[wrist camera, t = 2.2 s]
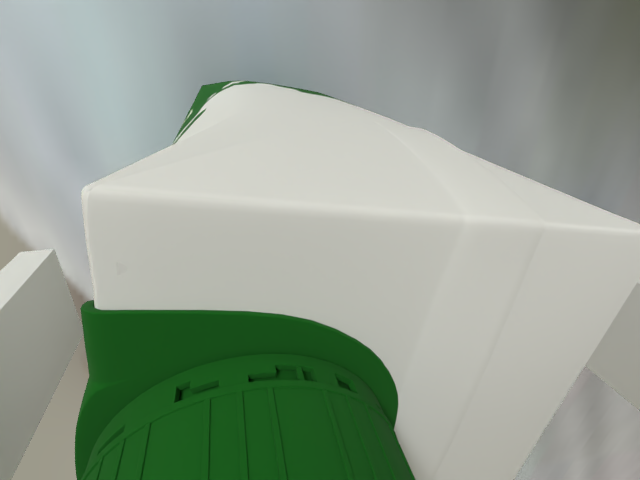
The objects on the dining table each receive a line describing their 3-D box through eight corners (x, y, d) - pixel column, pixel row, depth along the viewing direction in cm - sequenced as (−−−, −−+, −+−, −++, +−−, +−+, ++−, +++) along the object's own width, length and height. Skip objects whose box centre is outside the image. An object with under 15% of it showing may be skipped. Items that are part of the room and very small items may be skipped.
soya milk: (183, 62, 18) (-482, 192, 1) (350, 93, 21) (989, 273, 4) (180, 222, 22) (34, 861, 4) (323, 230, 24) (577, 654, 7)
